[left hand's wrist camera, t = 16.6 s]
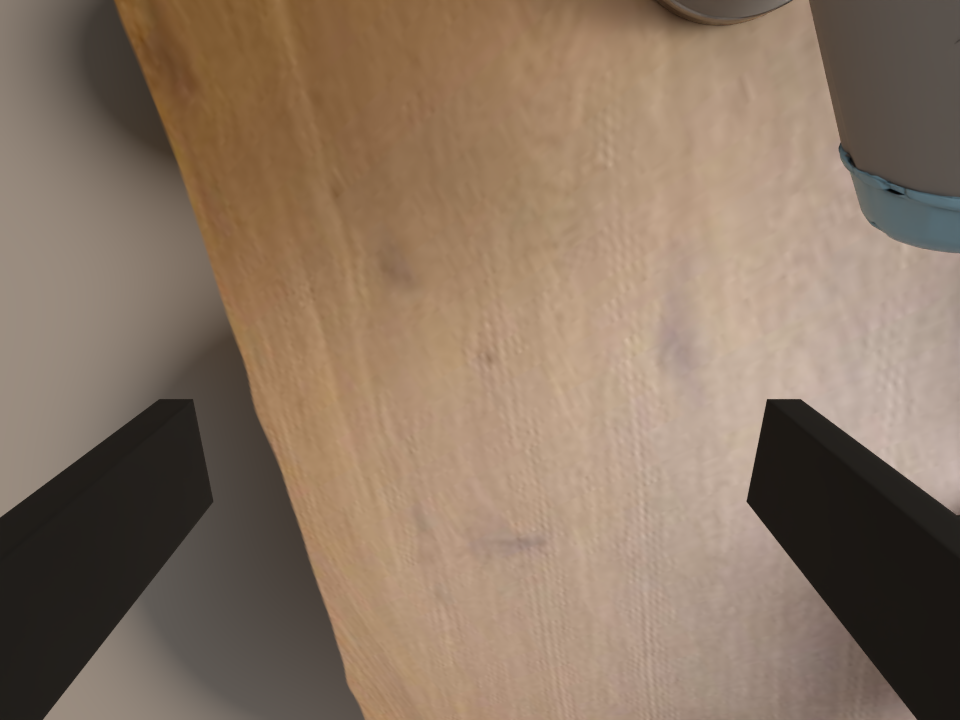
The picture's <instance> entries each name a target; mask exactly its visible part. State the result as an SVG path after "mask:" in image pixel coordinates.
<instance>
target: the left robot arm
mask: <svg viewBox="0 0 960 720" xmlns="http://www.w3.org/2000/svg"><path fill="white" fill-rule="evenodd" d="M656 1H657V2H658V3H659V4H661V5H662V6H663V7H665V8H666V9H667V10H669V11H671V12H672V13H674V14H676V15H677V16H680V17H682V18H684V19H687V20H690V21H693V22H697V23H702V24H707V25H731V24H737V23H742V22H746V21H750V20H753V19H756V18H758V17H761V16H763V15H765V14H767V13H769V12H771V11H773V10H775V9H777V8H779V7H781V6H783V5H785V4H787V3H789V2H790V1H792V0H656ZM809 2H810V7H811V11H812V16H813V20H814V24H815V29H816V33H817V38H818V42H819V47H820V51H821V55H822V60H823V64H824V69H825V73H826V78H827V82H828V86H829V91H830V95H831V100H832V104H833V109H834V113H835V117H836V122H837V126H838V131H839V135H840V140H841V143H840V146H839V153H840V158H841V160H842V162H843V164H844V166H845V167H846V168H847V169H848V170H849V171H850V174H851V177H852V180H853V184H854V187H855V190H856V194H857V197H858V200H859V204H860V207H861V210H862V212H863V214H864V216H865V217H866V219H867V220H868V221H869V223H870V224H871V225H872V226H874V227H876V228H878V229H879V230H881V231H883V232H884V233H886V234H887V235H888V236H889V237H890V238H892V239H894V240H897V241H899V242H902V243H905V244H909V245H912V246H915V247H919V248H924V249H929V250H935V251H941V252H950V253H960V0H809ZM212 503H213V497H212V492H211V487H210V483H209V477H208V472H207V467H206V462H205V457H204V452H203V447H202V442H201V438H200V432H199V427H198V422H197V417H196V412H195V407H194V402H193V399H159V400H158V401H156V402H155V403H154V404H152V405H151V406H150V407H148V408H147V409H146V410H144V411H143V412H142V413H140V414H139V415H138V416H136V417H135V418H134V419H132V420H131V421H130V422H128V423H127V424H125V425H124V426H123V427H121V428H120V429H119V430H117V431H116V432H115V433H113V434H112V435H111V436H109V437H108V438H107V439H105V440H104V441H103V442H101V443H100V444H99V445H97V446H96V447H95V448H93V449H92V450H91V451H89V452H88V453H86V454H85V455H84V456H82V457H81V458H80V459H78V460H77V461H76V462H74V463H73V464H72V465H70V466H69V467H68V468H66V469H65V470H64V471H62V472H61V473H60V474H58V475H57V476H56V477H54V478H53V479H52V480H50V481H49V482H47V483H46V484H45V485H44V486H42V487H41V488H39V489H38V490H37V491H36V492H34V493H33V494H31V495H30V496H29V497H27V498H26V499H25V500H23V501H22V502H21V503H19V504H18V505H17V506H15V507H14V508H13V509H11V510H10V511H8V512H7V513H6V514H4V515H3V516H2V517H0V720H43V719H44V717H45V716H46V715H47V714H48V712H49V711H50V710H51V708H52V707H53V706H54V705H55V703H56V702H57V701H58V700H59V698H60V697H61V696H62V694H63V693H64V692H65V690H66V689H67V688H68V687H69V685H70V684H71V683H72V682H73V680H74V679H75V678H76V676H77V675H78V674H79V673H80V671H81V670H82V669H83V668H84V666H85V665H86V664H87V662H88V661H89V660H90V659H91V657H92V656H93V655H94V654H95V652H96V651H97V650H98V648H99V647H100V646H101V645H102V643H103V642H104V641H105V639H106V638H107V637H108V636H109V634H110V633H111V632H112V630H113V629H114V628H115V627H116V625H117V624H118V623H119V622H120V620H121V619H122V618H123V616H124V615H125V614H126V613H127V611H128V610H129V609H130V608H131V606H132V605H133V604H134V602H135V601H136V600H137V599H138V597H139V596H140V595H141V593H142V592H143V591H144V590H145V588H146V587H147V586H148V585H149V583H150V582H151V581H152V579H153V578H154V577H155V576H156V574H157V573H158V572H159V570H160V569H161V568H162V567H163V565H164V564H165V563H166V562H167V560H168V559H169V558H170V556H171V555H172V554H173V553H174V551H175V550H176V549H177V547H178V546H179V545H180V544H181V542H182V541H183V540H184V539H185V537H186V536H187V535H188V533H189V532H190V531H191V530H192V528H193V527H194V526H195V524H196V523H197V522H198V521H199V519H200V518H201V517H202V516H203V514H204V513H205V512H206V510H207V509H208V508H209V506H210V505H211V504H212ZM747 503H748V504H749V505H750V507H751V508H752V509H753V510H754V512H755V513H756V514H757V516H758V517H759V518H760V519H761V521H762V522H763V523H764V524H765V526H766V527H767V528H768V530H769V531H770V532H771V533H772V535H773V536H774V537H775V539H776V540H777V541H778V542H779V544H780V545H781V546H782V547H783V549H784V550H785V551H786V553H787V554H788V555H789V556H790V558H791V559H792V560H793V562H794V563H795V564H796V565H797V567H798V568H799V569H800V570H801V572H802V573H803V574H804V576H805V577H806V578H807V579H808V581H809V582H810V583H811V585H812V586H813V587H814V588H815V590H816V591H817V592H818V593H819V595H820V596H821V597H822V599H823V600H824V601H825V602H826V604H827V605H828V606H829V608H830V609H831V610H832V611H833V613H834V614H835V615H836V616H837V618H838V619H839V620H840V622H841V623H842V624H843V625H844V627H845V628H846V629H847V631H848V632H849V633H850V634H851V636H852V637H853V638H854V639H855V641H856V642H857V643H858V645H859V646H860V647H861V648H862V650H863V651H864V652H865V654H866V655H867V656H868V657H869V659H870V660H871V661H872V662H873V664H874V665H875V666H876V668H877V669H878V670H879V671H880V673H881V674H882V675H883V677H884V678H885V679H886V680H887V682H888V683H889V684H890V685H891V687H892V688H893V689H894V691H895V692H896V693H897V694H898V696H899V697H900V698H901V700H902V701H903V702H904V703H905V705H906V706H907V707H908V708H909V710H910V711H911V712H912V714H913V715H914V716H915V717H916V719H917V720H960V515H956V514H954V513H953V512H952V511H950V510H949V509H947V508H946V507H945V506H943V505H942V504H941V503H939V502H938V501H937V500H935V499H934V498H933V497H931V496H930V495H929V494H927V493H926V492H925V491H923V490H922V489H921V488H919V487H918V486H917V485H915V484H914V483H913V482H911V481H910V480H908V479H907V478H906V477H904V476H903V475H902V474H900V473H899V472H898V471H896V470H895V469H894V468H892V467H891V466H890V465H888V464H887V463H886V462H884V461H883V460H882V459H880V458H879V457H878V456H876V455H875V454H874V453H872V452H871V451H869V450H868V449H867V448H865V447H864V446H863V445H861V444H860V443H859V442H857V441H856V440H855V439H853V438H852V437H851V436H849V435H848V434H847V433H845V432H844V431H843V430H841V429H840V428H839V427H837V426H836V425H835V424H833V423H832V422H830V421H829V420H828V419H826V418H825V417H824V416H822V415H821V414H820V413H818V412H817V411H816V410H814V409H813V408H812V407H810V406H809V405H808V404H806V403H805V402H804V401H802V400H801V399H767V402H766V407H765V412H764V417H763V422H762V427H761V432H760V437H759V442H758V447H757V452H756V457H755V462H754V467H753V472H752V477H751V482H750V487H749V492H748V497H747Z"/></svg>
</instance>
